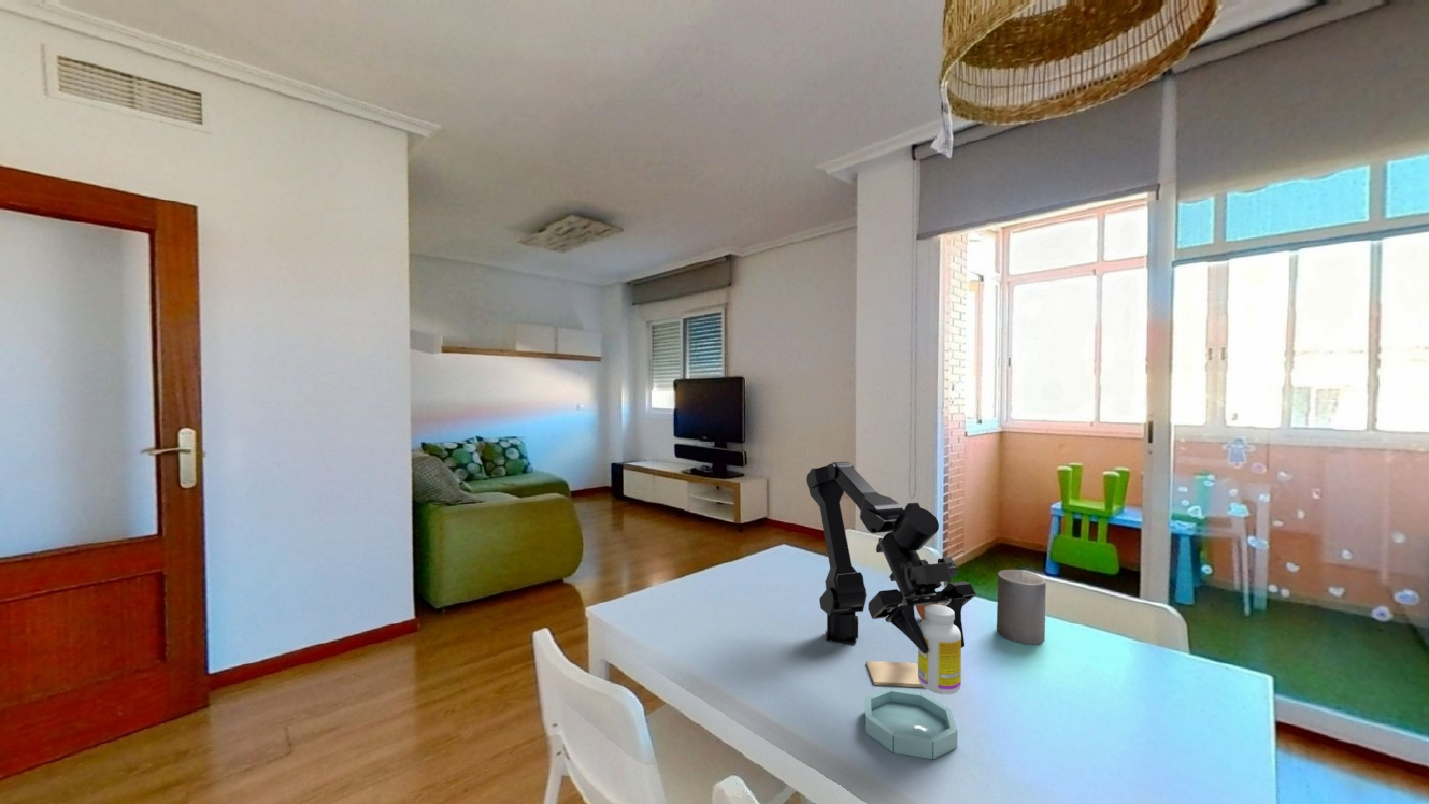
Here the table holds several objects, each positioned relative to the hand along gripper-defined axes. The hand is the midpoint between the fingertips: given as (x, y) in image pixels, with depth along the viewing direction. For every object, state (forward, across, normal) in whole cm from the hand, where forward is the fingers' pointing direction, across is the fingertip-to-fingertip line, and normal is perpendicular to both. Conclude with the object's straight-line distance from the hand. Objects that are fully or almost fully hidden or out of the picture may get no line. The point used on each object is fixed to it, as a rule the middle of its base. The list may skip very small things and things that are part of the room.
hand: (944, 649), depth 88 cm
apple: (-15, +25, +35) cm, 46 cm away
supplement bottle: (+4, 0, +6) cm, 7 cm away
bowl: (+8, -6, +10) cm, 14 cm away
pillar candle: (-7, +40, +27) cm, 49 cm away
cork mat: (-2, +2, +21) cm, 21 cm away
